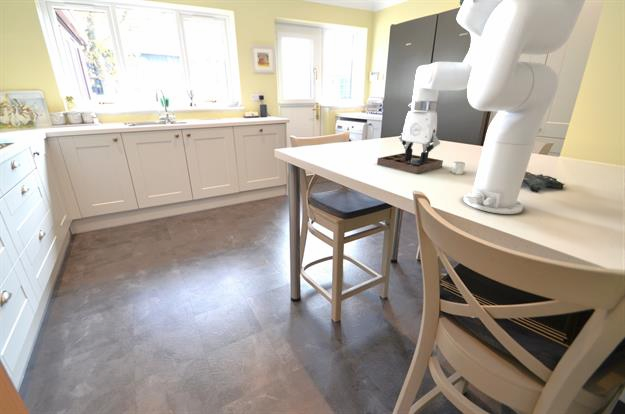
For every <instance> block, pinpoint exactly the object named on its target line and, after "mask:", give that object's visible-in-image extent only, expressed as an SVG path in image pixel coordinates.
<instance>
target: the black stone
mask: <svg viewBox="0 0 625 414" xmlns="http://www.w3.org/2000/svg"><path fill="white" fill-rule="evenodd" d="M410 165H413V166H420V165H421V164H420V159H419V158H411V159H410Z"/></svg>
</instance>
